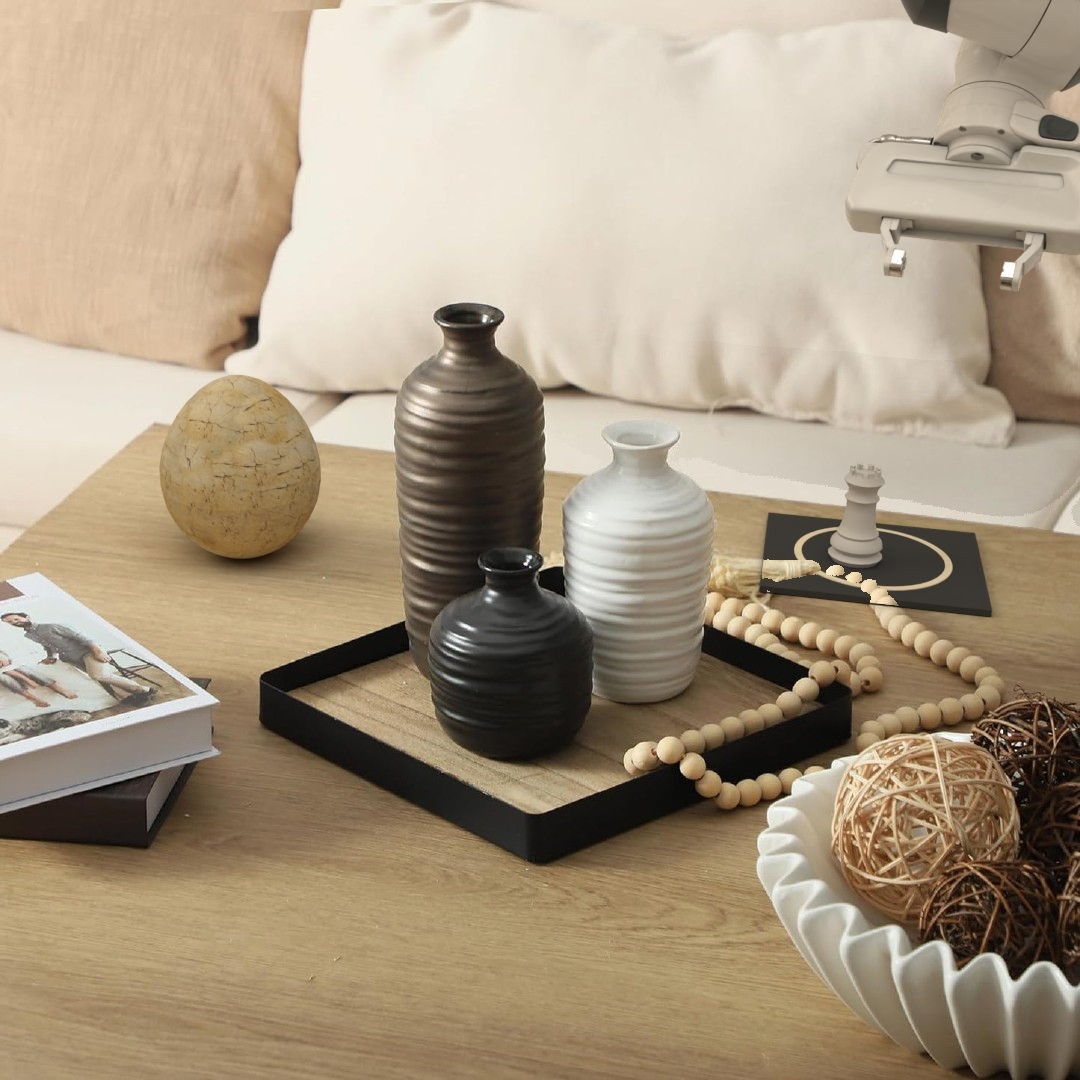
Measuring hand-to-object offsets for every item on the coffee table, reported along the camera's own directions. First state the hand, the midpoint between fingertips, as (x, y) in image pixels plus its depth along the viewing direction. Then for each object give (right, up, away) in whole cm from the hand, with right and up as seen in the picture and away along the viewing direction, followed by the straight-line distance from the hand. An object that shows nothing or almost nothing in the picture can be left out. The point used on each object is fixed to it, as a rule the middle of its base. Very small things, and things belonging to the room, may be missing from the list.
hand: (949, 279), depth 121 cm
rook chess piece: (-8, -23, +2) cm, 24 cm away
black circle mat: (-6, -23, +3) cm, 24 cm away
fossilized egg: (-58, -22, +1) cm, 62 cm away
